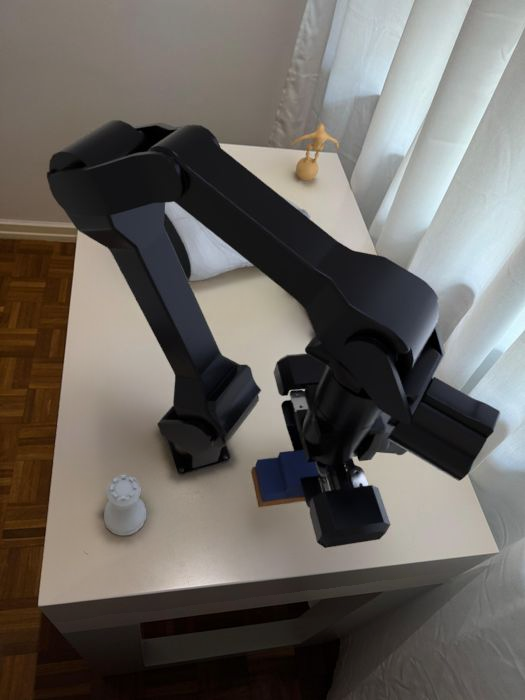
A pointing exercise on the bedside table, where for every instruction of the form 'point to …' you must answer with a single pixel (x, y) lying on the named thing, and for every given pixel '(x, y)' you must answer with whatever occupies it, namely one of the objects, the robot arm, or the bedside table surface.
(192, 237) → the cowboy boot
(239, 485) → the bedside table surface
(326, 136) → the figurine
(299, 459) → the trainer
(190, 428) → the robot arm
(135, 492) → the rook chess piece
